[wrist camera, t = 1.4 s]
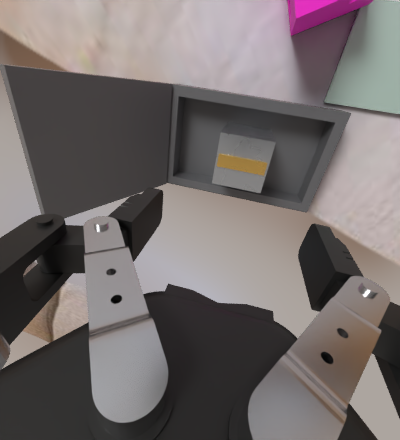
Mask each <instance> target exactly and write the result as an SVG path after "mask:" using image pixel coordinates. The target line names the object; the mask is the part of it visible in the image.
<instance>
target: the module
mask: <svg viewBox="0 0 400 440" xmlns="http://www.w3.org/2000/svg"><path fill="white" fill-rule="evenodd" d="M275 144H276V141H275V138H274V136H273V133H272V130H269V129H263V128H258V127H252V126H246V125H241V124H235V123H229V122H228V124H227V125H226V126H225V127H224V129H223V130H222V131H221V134H220V139H219V145H218V151H217V157H216V162H215V168H214V174H213V180H212V183H213V184H218V185H223V186H228V187H232V188H237V189H242V190H247V191H252V192H256V193H261V190H262V187H263V183H264V180H265V177H266V174H267V170H268V167H269V164H270V160H271V157H272V154H273V151H274V147H275Z"/></svg>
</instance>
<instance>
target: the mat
mask: <svg viewBox="0 0 400 440" xmlns="http://www.w3.org/2000/svg"><path fill="white" fill-rule="evenodd" d="M324 102H326V103H332V104H338V105H344V106H351V107H357V108H363V109H369V110H376V111H382V112H388V113H395V114H400V2H398V1H388V0H373V1H372V2H371V3H370V4H368V5H366V6H363V7H361V8H359V10H358V13H357V16H356V18H355V21H354V24H353V26H352V29H351V31H350V34H349V37H348V39H347V42H346V45H345V47H344V50H343V53H342V55H341V58H340V60H339V63H338V66H337V68H336V71H335V74H334V76H333V79H332V81H331V84H330V87H329V89H328V92H327V95H326V97H325V100H324Z"/></svg>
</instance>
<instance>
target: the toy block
mask: <svg viewBox="0 0 400 440" xmlns="http://www.w3.org/2000/svg"><path fill="white" fill-rule="evenodd" d="M287 1H288V11H289V22H290V32H291V36H292V35H295V34H297V33H300V32H302V31H304V30H307V29H309V28H312V27H314V26H317V25H319V24H322V23H324V22H327V21H329V20H332V19H334V18H336V17H339V16H341V15H344V14H346V13H349V12H351V11H354V10H356V9H359V8H361V7H363V6H366V5H368V4H370V3H371V2H372V1H373V0H287Z"/></svg>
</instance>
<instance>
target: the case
mask: <svg viewBox="0 0 400 440" xmlns="http://www.w3.org/2000/svg"><path fill="white" fill-rule="evenodd" d="M0 70H1V73H2V77H3V80H4V84H5V87H6V91H7V94H8V97H9V101H10V105H11V109H12V112H13V116H14V119H15V123H16V126H17V130H18V133H19V136H20V140H21V144H22V147H23V151H24V154H25V158H26V161H27V165H28V169H29V172H30V176H31V179H32V183H33V186H34V190H35V193H36V197H37V200H38V204H39V207H40V211H41V214H42V215H43V214H57V215H60V216H62V217H63V218H67V217H69V216H73V215H75V214H78V213H81V212H84V211H87V210H90V209H93V208H96V207H99V206H102V205H105V204H108V203H111V202H114V201H116V200H120V199H123V198H126V197H128V196H131V195H134V194H137V193H140V192H143V191H145V190H146V189H147V188H149V187H150V188H155V187H158V186H161V185H163V184H166V183H171V184H176V185H180V186H185V187H190V188H195V189H199V190H204V191H208V192H213V193H218V194H223V195H227V196H232V197H237V198H241V199H246V200H250V201H255V202H260V203H265V204H269V205H274V206H278V207H283V208H288V209H292V210H297V211H302V212H307V211H308V208H309V206H310V204H311V202H312V200H313V197H314V195H315V193H316V191H317V188H318V186H319V184H320V182H321V180H322V177H323V175H324V173H325V171H326V168H327V166H328V164H329V162H330V159H331V157H332V155H333V153H334V151H335V148H336V146H337V144H338V142H339V139H340V137H341V135H342V133H343V130H344V128H345V126H346V124H347V122H348V119H349V117H350V115H351V113H349V112H345V111H341V110H335V109H329V108H323V107H316V106H310V105H304V104H298V103H292V102H286V101H280V100H273V99H267V98H261V97H255V96H249V95H243V94H236V93H230V92H224V91H218V90H212V89H206V88H199V87H193V86H187V85H181V84H169V83H161V82H153V81H144V80H136V79H127V78H118V77H110V76H101V75H92V74H84V73H75V72H67V71H58V70H49V69H41V68H31V67H23V66H14V65H6V64H0ZM228 122H229V123H235V124H241V125H246V126H252V127H258V128H263V129H269V130H272V133H273V136H274V138H275V141H276V144H275V147H274V151H273V154H272V157H271V160H270V164H269V167H268V170H267V174H266V177H265V180H264V183H263V187H262V190H261V193H256V192H252V191H247V190H242V189H237V188H232V187H228V186H223V185H218V184H213V183H212V180H213V174H214V168H215V162H216V157H217V151H218V145H219V139H220V134H221V131H222V130H223V129H224V127H225V126H226V125H227V124H228Z"/></svg>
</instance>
